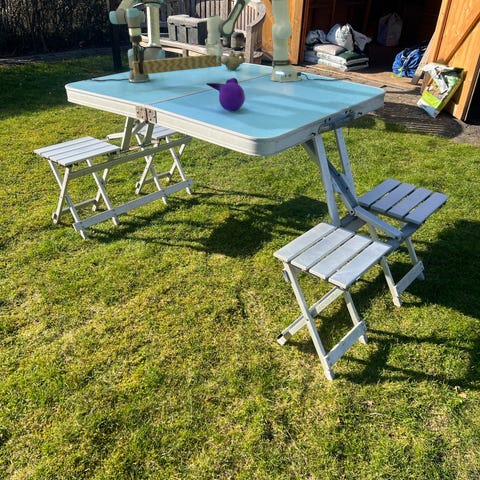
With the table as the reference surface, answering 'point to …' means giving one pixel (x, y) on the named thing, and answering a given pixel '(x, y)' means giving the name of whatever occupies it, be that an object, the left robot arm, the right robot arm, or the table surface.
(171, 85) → the table surface
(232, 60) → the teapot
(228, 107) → the toy
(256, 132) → the table surface
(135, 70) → the bar
